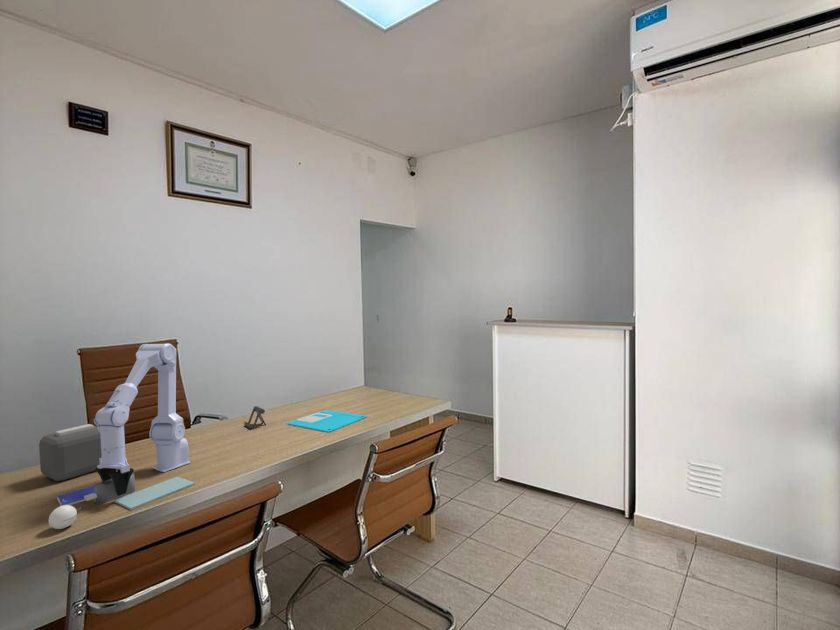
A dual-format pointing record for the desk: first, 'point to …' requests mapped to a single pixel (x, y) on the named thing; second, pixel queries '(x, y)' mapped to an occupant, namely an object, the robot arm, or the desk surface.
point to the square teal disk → (326, 420)
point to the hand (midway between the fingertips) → (115, 491)
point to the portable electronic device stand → (259, 412)
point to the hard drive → (75, 496)
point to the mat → (153, 493)
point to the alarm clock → (70, 452)
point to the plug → (109, 491)
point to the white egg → (62, 517)
